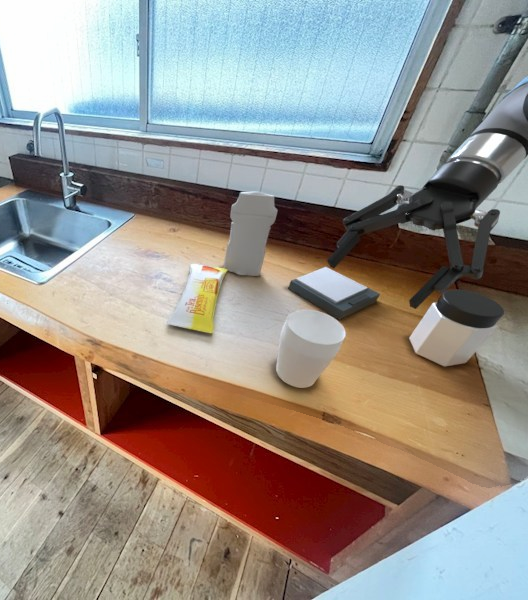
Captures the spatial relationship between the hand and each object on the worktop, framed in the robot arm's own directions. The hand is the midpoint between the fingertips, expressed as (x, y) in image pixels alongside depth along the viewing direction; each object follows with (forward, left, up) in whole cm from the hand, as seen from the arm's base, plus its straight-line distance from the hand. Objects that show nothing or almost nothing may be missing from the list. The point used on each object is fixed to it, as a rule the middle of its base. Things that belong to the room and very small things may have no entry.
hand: (367, 283), depth 53 cm
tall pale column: (+32, -6, -17) cm, 37 cm away
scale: (+13, -17, -17) cm, 27 cm away
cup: (0, +10, -17) cm, 20 cm away
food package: (+28, +11, -17) cm, 35 cm away
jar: (-9, -18, -17) cm, 26 cm away
